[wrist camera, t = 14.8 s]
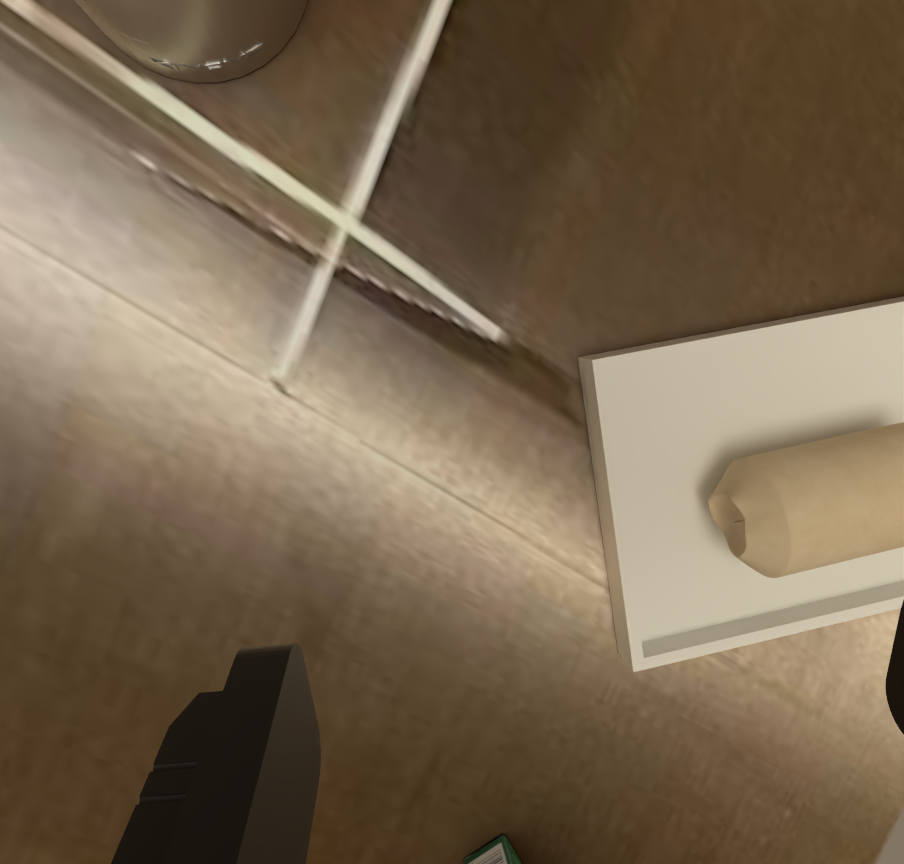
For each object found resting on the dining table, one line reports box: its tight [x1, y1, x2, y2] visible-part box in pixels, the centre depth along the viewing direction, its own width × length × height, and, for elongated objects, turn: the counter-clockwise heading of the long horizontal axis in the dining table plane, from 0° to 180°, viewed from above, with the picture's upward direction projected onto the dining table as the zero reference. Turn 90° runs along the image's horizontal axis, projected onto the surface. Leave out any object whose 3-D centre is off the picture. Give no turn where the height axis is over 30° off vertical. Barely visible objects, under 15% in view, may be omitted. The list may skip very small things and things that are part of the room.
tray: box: [578, 296, 904, 672], centre depth 35 cm, size 15×19×2 cm
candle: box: [708, 422, 904, 578], centre depth 32 cm, size 6×6×10 cm
